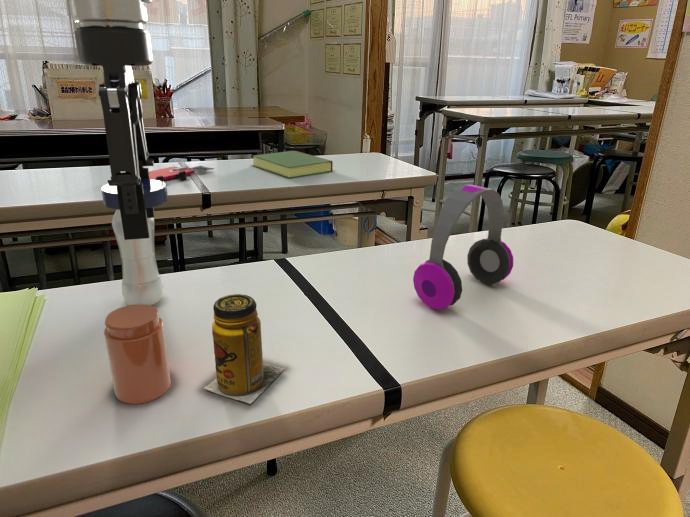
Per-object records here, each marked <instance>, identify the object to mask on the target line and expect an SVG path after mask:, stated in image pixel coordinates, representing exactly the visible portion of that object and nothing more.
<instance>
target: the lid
mask: <svg viewBox="0 0 690 517" xmlns="http://www.w3.org/2000/svg"><path fill="white" fill-rule="evenodd" d="M140 183H142V184H143V191H144V198H145V206H146V208H152V207H154V208H155V207H159V206H161V205H164V204H165V203H167V202H168V201H169V196H168V195H169V194H168V187H167V182H165V181H164V182H163V181H159V180H153V179H141V182H140ZM100 190H101V198H102V202H103V205H104V207H106V208H108V209H111V210H120V207H119V201H118V194H117V188H116V186H109V185H108V183H107V184H104V185H102V187H100Z"/></svg>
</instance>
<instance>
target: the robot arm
mask: <svg viewBox="0 0 690 517" xmlns="http://www.w3.org/2000/svg"><path fill="white" fill-rule="evenodd" d="M152 1H153V0H68V4H69V10H70V16H71V19H72V21H73V22H75V23H76V22H77V23H78V27H76V28H75V30H74V36H75V42H76V43H75V44H76V49H77V54H78V55H77V56H78V60H79V62H80V63H81V65H85V66H94V67H96V66H97V67H99V66H101V67H102V70H103V71H102V75H103V76H102V77H103V82H102V83H99V84H98V91H97V93H98V97H99V99H100V105H101V110H102V114H103V115H102V116H103V123H104V132H105V138H106V146H107V155H108V160H109V168H110V179H107V184H108V185H109V186H116V188H117V194H118V201H119V207H120V214H121V220H122V227H123V233H124V239H125V240H131V239H146V238H149V237H150V235H149V228H148V220H147V218H154V219H155V216H156V215H155V207H152V208H146V206H145V198H144V191H143V184H142V183H140V182H141V179H150V176H149V171H150V169H149V167H154V163H155V162H154V158H149V156H150V153H149V151H148V146H147V139H146V132H145V131H146V130H145V126H144V120H143V119H144V118H143V114H144V110H143V105H142V95H143V94H142V93H143V91H142V85H141V82H139V81H138V79H135V76H134V73H133V72H134V70H133V69H132V67H144V66H145V67H147V66H150V65H152V63H153V61H154V57H153V48H152V42H151V33H150V32H148V29H143V25H146V24H147V23H148V22H149V18H148V11H147V7H146V6H145V4H151V3H152Z"/></svg>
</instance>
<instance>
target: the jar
mask: <svg viewBox="0 0 690 517" xmlns="http://www.w3.org/2000/svg"><path fill="white" fill-rule="evenodd" d="M104 326H105V328H104V331H103V335H104V341H105V346H106V347H105V348H106V352H107V358H108V362H109V368H110V373H111V379H112V385H113V390H114V395H115V397H116V399H117V400H118V401H120V402H122V403H125V404H133V405H138V404H144V403H145V404H146V403H148V402H152V401H154V400H156V399H158V398H160V397H162V396H163V395H165V394H166V393H167V392H168V391H169V389H170V387H171V385H172V381H171V373H170V364H169V358H168V350H167V342H166V336H165V334H166V333H165V328H164V327H165V326H164V322H163V319H162V318H160V316H159V311H158V308H156V306H153V305H145V304H136V305H129V304H128V305H124V306H121V307H118V308H116V309H114V310H113V311H110V312H109V313H108V314H107V316H106V317H105V320H104Z"/></svg>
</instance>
